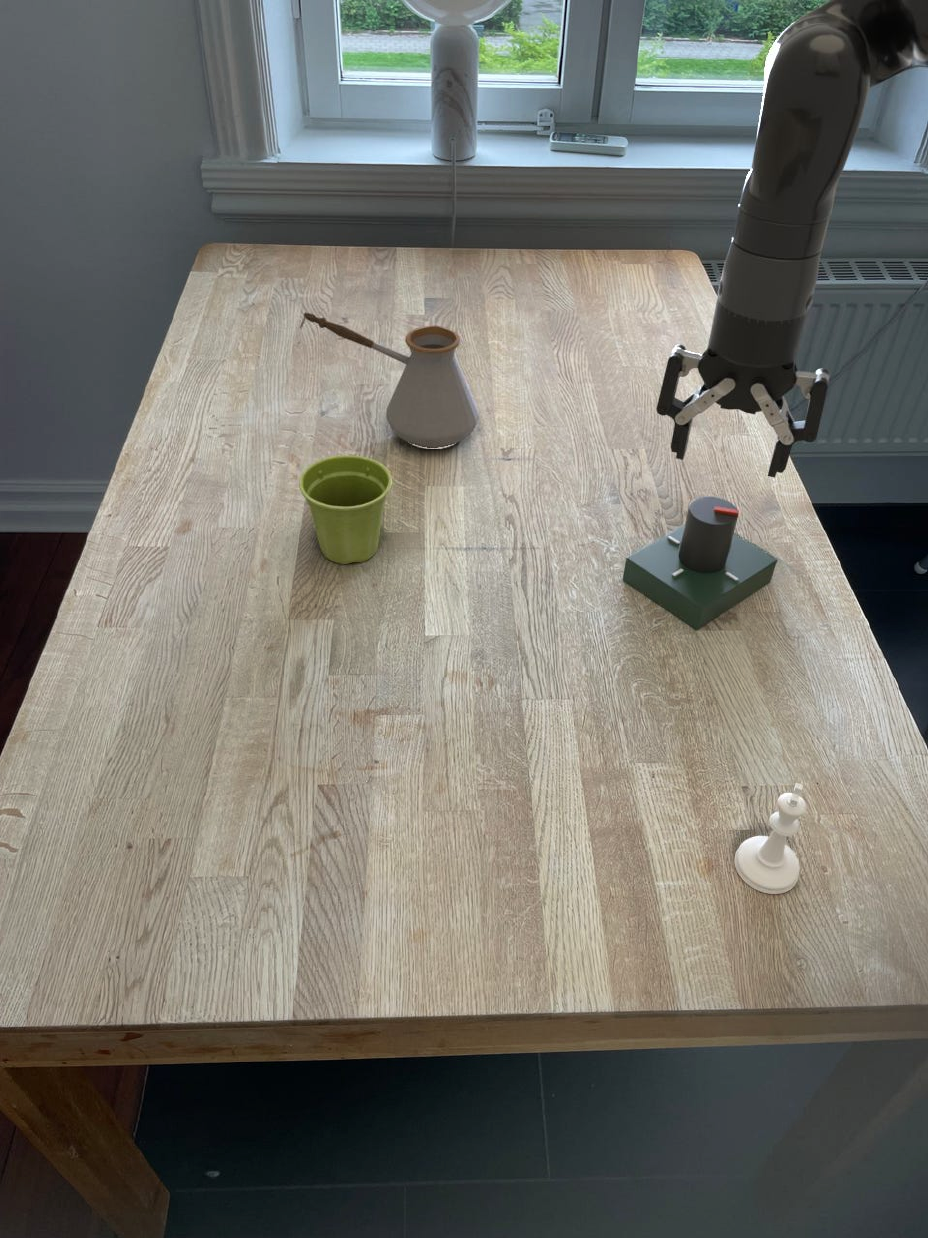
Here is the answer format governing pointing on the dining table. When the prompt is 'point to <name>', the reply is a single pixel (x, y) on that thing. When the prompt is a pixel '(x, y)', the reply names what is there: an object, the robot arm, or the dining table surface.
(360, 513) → the plant pot
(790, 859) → the chess piece
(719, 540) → the knob
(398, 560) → the dining table surface
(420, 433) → the coffee pot
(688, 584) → the panel
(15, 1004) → the dining table surface
